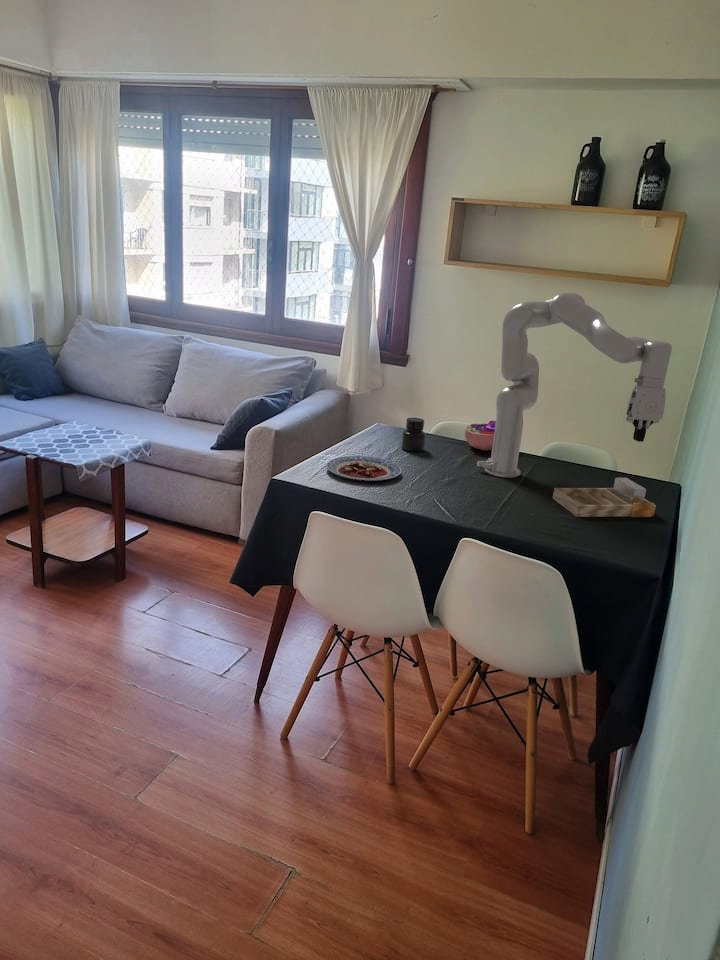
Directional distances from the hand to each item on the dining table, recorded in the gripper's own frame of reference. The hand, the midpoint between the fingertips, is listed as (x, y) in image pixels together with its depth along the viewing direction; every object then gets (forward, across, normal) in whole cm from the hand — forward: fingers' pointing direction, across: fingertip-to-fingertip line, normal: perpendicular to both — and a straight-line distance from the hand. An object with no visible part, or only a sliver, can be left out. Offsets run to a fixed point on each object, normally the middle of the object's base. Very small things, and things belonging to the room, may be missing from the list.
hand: (638, 440), depth 209 cm
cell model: (+23, -24, +63) cm, 71 cm away
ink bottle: (+23, -54, +61) cm, 85 cm away
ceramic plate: (+23, -80, +32) cm, 89 cm away
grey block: (+21, 0, -1) cm, 21 cm away
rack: (+22, -8, -1) cm, 24 cm away
